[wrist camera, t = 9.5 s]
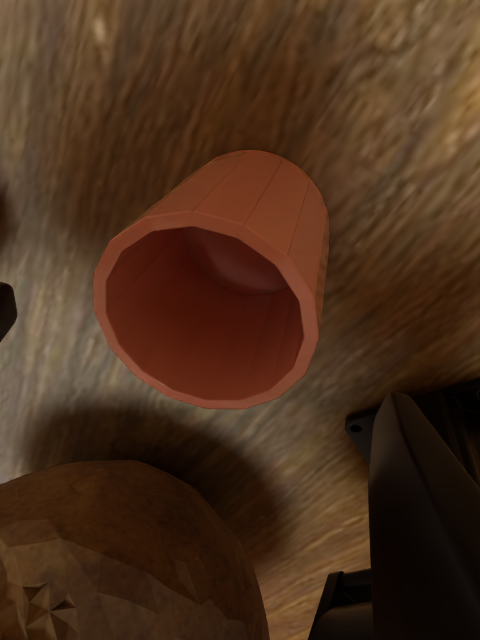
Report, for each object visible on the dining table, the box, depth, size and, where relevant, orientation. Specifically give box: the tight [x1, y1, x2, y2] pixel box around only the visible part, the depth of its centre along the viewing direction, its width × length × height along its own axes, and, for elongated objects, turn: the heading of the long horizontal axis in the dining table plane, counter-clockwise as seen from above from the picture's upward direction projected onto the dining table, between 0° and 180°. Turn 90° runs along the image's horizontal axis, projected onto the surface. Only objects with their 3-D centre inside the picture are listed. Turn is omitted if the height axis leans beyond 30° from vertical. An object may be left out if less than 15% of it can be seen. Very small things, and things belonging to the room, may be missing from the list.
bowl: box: [0, 460, 270, 640], centre depth 21 cm, size 19×19×15 cm
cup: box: [93, 150, 330, 409], centre depth 13 cm, size 6×6×6 cm
